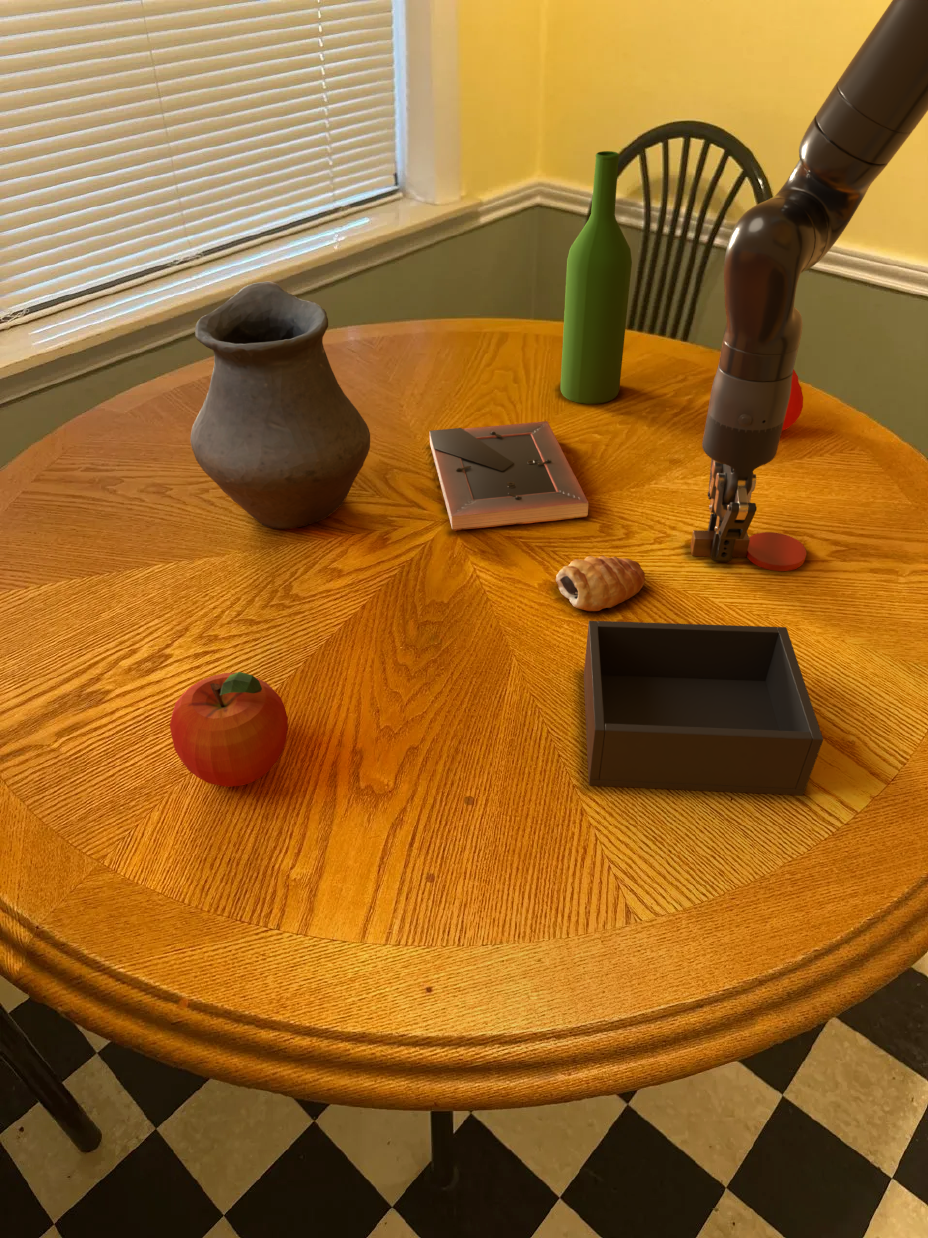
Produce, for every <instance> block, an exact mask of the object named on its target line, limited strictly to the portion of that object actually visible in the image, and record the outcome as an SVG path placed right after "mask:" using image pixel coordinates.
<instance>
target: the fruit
mask: <svg viewBox="0 0 928 1238" xmlns="http://www.w3.org/2000/svg"><path fill="white" fill-rule="evenodd" d="M169 729H170V734H171V740H172V744H173V748H174V751H175V753H176V754H177V756H178V758H179V759H180V761H181V762H182V764H183V765H184V766H185V768H186V769H187V770H188V772H190V773H191V774H193V776H195V777H197V778H198V779H200V780H202V781H203V782H205V783H206V784H210V785H215V786H220V787H226V788H227V787H228V788H229V787H230V788H231V787H242V786H245V785H248V784H252V783H254V782H256V781H257V780H259V779H261V778H263V777H264V776H266V775H267V773H268V772H270V771H271V769H273V767H274V766H275V765H276V764H277V763H278V761H279V759H280V757H281V756H282V754H283V752H284V751H285V750H284V749H285V746H286V742H287V738H288V733H289V718H288V715H287V709H286V707H285V704H284V701H283V699H282V697H281V696H280V695H279V694H278V693H277V692H276V690H275V689H273V687H272V686H270V684H269V683H268V682H267V681H264V680H262V679H260V678H258V677H256V676H254V675H253V674H250V673H246V672H242V671H238V672H237V671H236V672H223V673H218V674H215V675H214V674H213V675H211V676H208V677H205V678H203V679H200V680H199V681H197V682H196V683H194V684H192V685H191V686H189V687H188V688H187V689H186V690H185V691H184V692H183V693H182V694H181V695H180V696H179V698H178V699H177V700H176V702H174V706H173V709H172V714H171V718H170V723H169Z"/></svg>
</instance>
